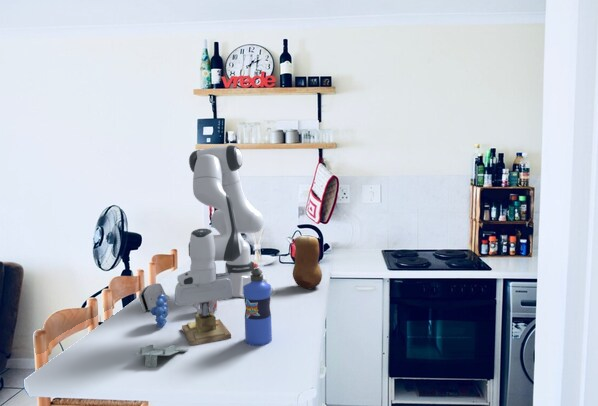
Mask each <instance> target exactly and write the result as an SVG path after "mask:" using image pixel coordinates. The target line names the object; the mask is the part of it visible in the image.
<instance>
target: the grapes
mask: <svg viewBox="0 0 598 406" xmlns="http://www.w3.org/2000/svg"><path fill="white" fill-rule="evenodd" d="M157 299H158V300H157V301H156V307H153V308H152V309H151V310H149V312H150V314H151V315H152V316H154V317H155V322H156V326H157V327H158V328H159V329H162V328H164V327H165V325H166V324H167V322H168V321H167V319H166V318H167V317H168V315H169V314H168V312H169V309H168V306H169V305H168V302H167V303H166V301H167V298H166V297H165V295H164V294H160V295H159V296H158V297H157Z"/></svg>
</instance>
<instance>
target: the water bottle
mask: <svg viewBox="0 0 598 406" xmlns="http://www.w3.org/2000/svg"><path fill="white" fill-rule="evenodd" d="M251 273H252V275H251V282H250V283H248V284H246V285H244V286H243V293H244V298H243V299H244V304H245V309H244V310H245V312H244V336H245V339H244V341H245V344H247V345H250V346H256V347H257V346H258V347H259V346H265V345H268V344H270V343H271V342H272V339H273V337H272V335H273V334H272V333H273V331H272V313H271V296H272V292H271V287H272V286H271V284H270V283H269V282H267V283H265V282H263V275H264V274H263V275H262V273H263V271H262V270H261V269H260V268H259V267H257V268H255V269H254V270H253V271H252V272H251Z"/></svg>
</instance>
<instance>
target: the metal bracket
mask: <svg viewBox="0 0 598 406" xmlns="http://www.w3.org/2000/svg"><path fill="white" fill-rule="evenodd" d="M187 351H189V349H188V348H176V345H175V344H173V345H169V346H168V347H163V348H156V347H155V348H154V344H149V345H146V346H145V347H140V349H139V352H137V353H134V354H133V355H134V356H145V360H144V361H145V362H144V367H145V368H147V367H148V368H157V366H158V364H157V363H158V356H165V357H166V356H171V355H174V354H177V353H179V352H187Z"/></svg>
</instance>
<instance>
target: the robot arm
mask: <svg viewBox="0 0 598 406" xmlns="http://www.w3.org/2000/svg"><path fill="white" fill-rule="evenodd" d="M188 164H189V168H190V171H192V173H193V175H192V176H193V177H192V190H193V191H192V192H193V196H194V197H195V198H196V200H197V201H198V202H200V203H201V204H203V205H205V206H208V207H210V208H214V209H216V210H215V211H214V212H213V213H212V216H211V224H212V227H213V228H214V230H216V231H217V232H218V234H214V232H213V231H212V229H210V228H209V229H208V228H197V229H195V230H192V231H191V233H190V238H189V239H190V240H189V243H188V256H189V258H190V270H188V271H186V272H183V273H181V274H179V275H177V278H176V279H177V283H176V285H175V288H174V289H175V290H174V303H175V304H176V305H177V306H179V307H180V306H186V305H193V306H194V308H195V309H196V314H198V315H201V314H202V309H201V308H200V307H198V306H199V303H201V302H208V301H211V303H212V304H211V306H210V307H209V313H213V308H214V306H215V304H216V300H217V301H220V300H221V301H222V300H227V299H232V298H236V297H237V298H238V297H239V298H242V299H244V293H243V286H244V285H246V284H248V283H250V282H251V275H252V273H251V272H252V271H253V270H254V269H255V268H259V264H258V263H256V262H253V261H251V246H250V244H249V242H247V240H245V239H244V237H243V236H242V234H247V235H248V234H254V233H259V232H260V231H261V230H262V228H263V226H264V217H263V215H262V214H263V213H261V212H260V211H259V210H258V209H256V208H255V207H254V206H253V205H252V204H251V203H250V201H249V200H248V198H247V197H246V194H245V192H244V189H243V185H242V181H241V176H240V173H239V169H240V168H241V167H242V165H243V154H242V151H241V149H240V148H239V147H238V146H237V145H233V144H232V145H231V144H230V145H218V146H212V147H207V148H204V149H196V150H194V151H193V152H192V153H190V156H189V159H188ZM221 261H223V262H225V269H224V270H225V272H223V273H221V272H220V273H217V266H216V262H221ZM261 274H262V273H261ZM262 275H263V282H265V283H268V280H267V278H266V276H265V275H264V274H262ZM273 291H274V290H273V287H272V286H271V293H273ZM213 314H214V313H213Z"/></svg>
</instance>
